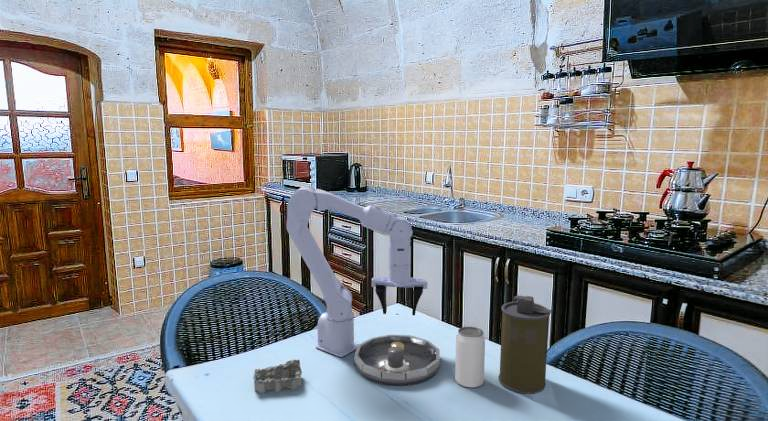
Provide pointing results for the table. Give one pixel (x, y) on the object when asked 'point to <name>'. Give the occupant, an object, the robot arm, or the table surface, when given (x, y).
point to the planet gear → (395, 361)
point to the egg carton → (275, 371)
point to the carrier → (415, 353)
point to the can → (470, 357)
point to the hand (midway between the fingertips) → (399, 313)
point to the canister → (524, 345)
